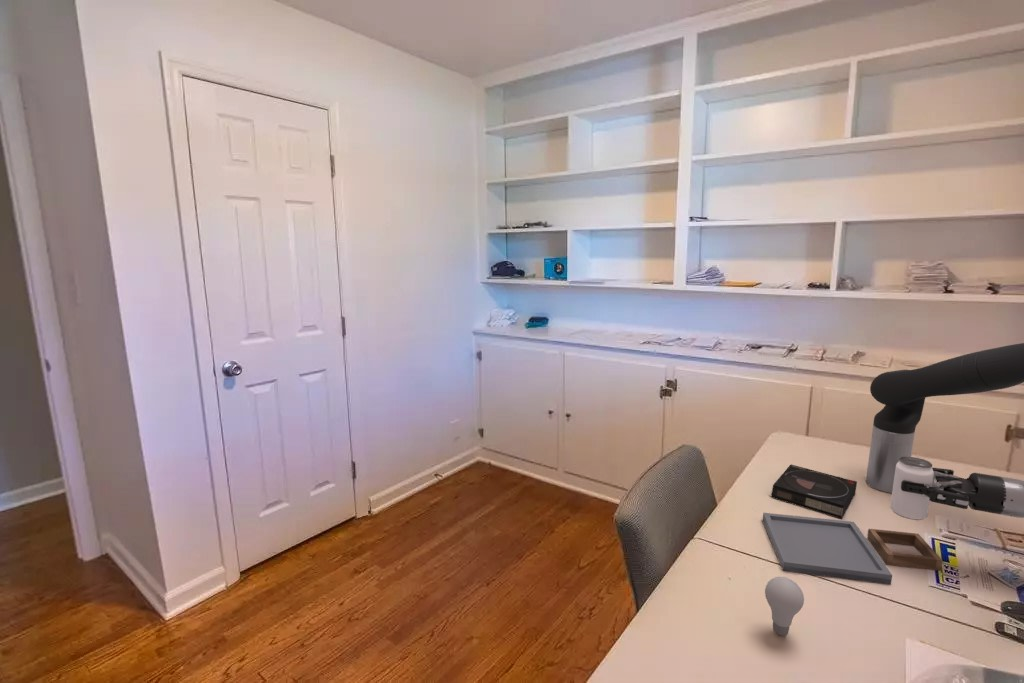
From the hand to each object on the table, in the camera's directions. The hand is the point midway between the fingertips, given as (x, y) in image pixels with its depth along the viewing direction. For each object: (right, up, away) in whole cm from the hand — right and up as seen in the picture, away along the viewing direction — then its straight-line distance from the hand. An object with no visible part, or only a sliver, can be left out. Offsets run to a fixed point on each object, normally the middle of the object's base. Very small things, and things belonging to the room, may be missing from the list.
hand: (899, 478), depth 112 cm
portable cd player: (-2, -13, +28) cm, 31 cm away
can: (+2, -8, 0) cm, 8 cm away
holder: (+3, -17, +3) cm, 18 cm away
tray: (-14, -17, +5) cm, 23 cm away
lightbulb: (-36, -23, -19) cm, 47 cm away
